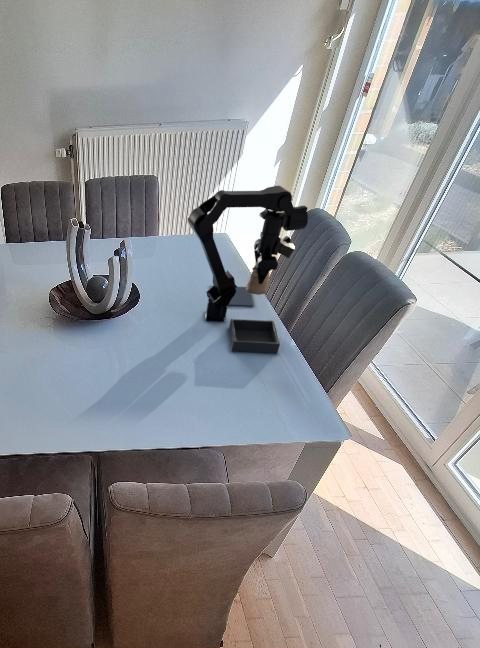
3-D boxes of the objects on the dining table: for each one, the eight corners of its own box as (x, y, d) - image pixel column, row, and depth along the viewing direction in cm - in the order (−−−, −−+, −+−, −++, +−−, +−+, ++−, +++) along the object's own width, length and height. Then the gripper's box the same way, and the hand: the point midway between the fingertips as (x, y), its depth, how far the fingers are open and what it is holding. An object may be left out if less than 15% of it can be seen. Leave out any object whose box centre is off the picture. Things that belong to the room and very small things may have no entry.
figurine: (259, 284, 166) (268, 250, 157) (270, 293, 161) (280, 259, 152) (242, 287, 164) (250, 253, 155) (252, 296, 160) (261, 261, 151)
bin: (231, 351, 151) (233, 341, 149) (228, 329, 161) (230, 318, 158) (276, 354, 150) (280, 343, 147) (271, 331, 160) (274, 320, 157)
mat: (212, 304, 174) (212, 303, 173) (210, 286, 184) (211, 285, 183) (252, 306, 172) (252, 305, 172) (249, 288, 182) (249, 287, 182)
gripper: (300, 244, 140) (286, 292, 152) (293, 222, 153) (281, 268, 164) (263, 242, 142) (252, 290, 153) (259, 221, 154) (249, 267, 166)
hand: (259, 279), depth 159 cm, fingers closed on figurine, 7 cm apart
